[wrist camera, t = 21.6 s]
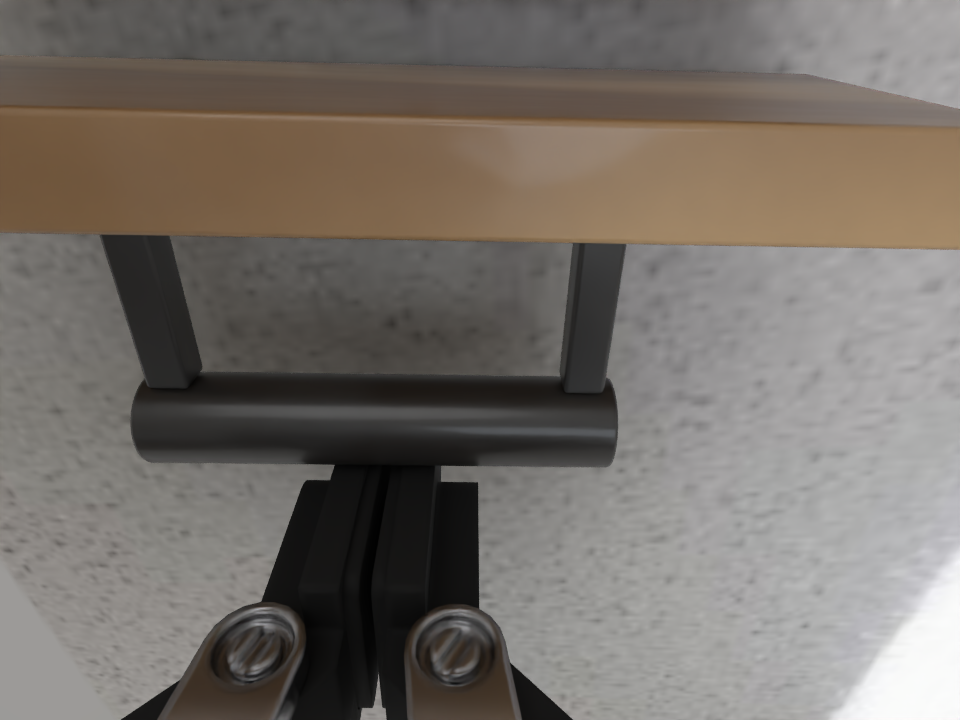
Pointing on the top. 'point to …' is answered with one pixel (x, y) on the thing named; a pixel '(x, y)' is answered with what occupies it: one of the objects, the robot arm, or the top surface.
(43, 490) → the top surface
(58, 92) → the drawer
